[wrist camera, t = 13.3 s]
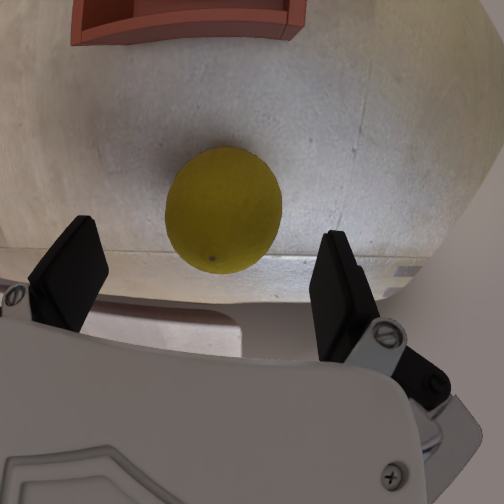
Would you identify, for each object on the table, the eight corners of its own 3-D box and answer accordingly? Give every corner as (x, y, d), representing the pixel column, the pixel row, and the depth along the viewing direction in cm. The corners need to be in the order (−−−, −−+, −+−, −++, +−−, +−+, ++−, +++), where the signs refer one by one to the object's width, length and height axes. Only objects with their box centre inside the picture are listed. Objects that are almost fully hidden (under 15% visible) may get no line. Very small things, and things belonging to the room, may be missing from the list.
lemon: (246, 226, 19) (235, 323, 13) (174, 185, 17) (124, 269, 11) (297, 164, 16) (318, 245, 10) (218, 113, 14) (177, 159, 8)
